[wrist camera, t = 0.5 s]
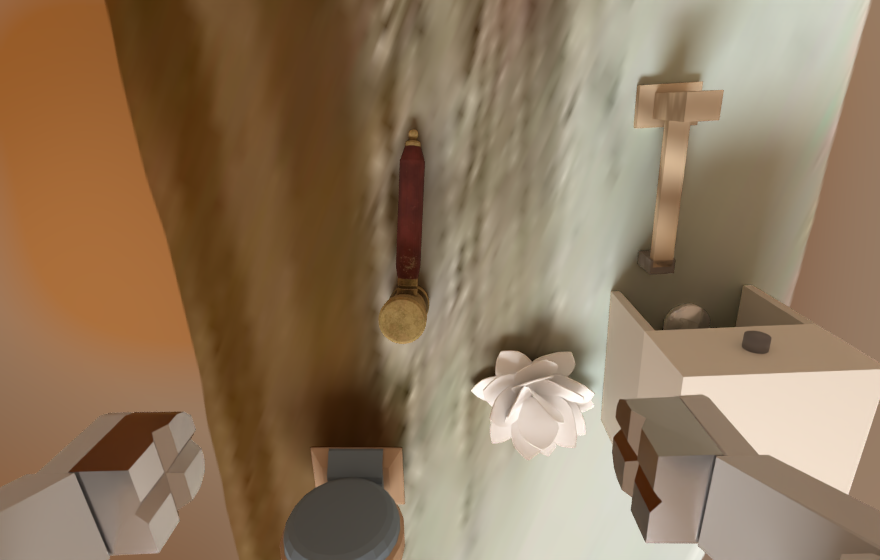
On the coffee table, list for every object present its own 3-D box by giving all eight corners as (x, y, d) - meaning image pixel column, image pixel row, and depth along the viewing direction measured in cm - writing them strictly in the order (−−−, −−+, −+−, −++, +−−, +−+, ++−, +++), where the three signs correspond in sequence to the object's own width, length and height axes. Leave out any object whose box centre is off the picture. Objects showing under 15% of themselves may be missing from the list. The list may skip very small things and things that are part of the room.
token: (664, 303, 55) (669, 307, 54) (707, 301, 55) (713, 305, 54) (659, 341, 57) (664, 345, 56) (701, 339, 57) (706, 344, 56)
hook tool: (637, 85, 47) (670, 83, 40) (698, 81, 46) (743, 78, 39) (621, 264, 53) (648, 289, 46) (675, 261, 53) (710, 286, 46)
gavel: (396, 136, 52) (384, 117, 43) (437, 139, 52) (435, 119, 43) (389, 321, 55) (377, 343, 45) (428, 323, 55) (425, 345, 45)
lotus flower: (448, 394, 60) (448, 440, 52) (530, 313, 56) (544, 350, 48) (529, 453, 63) (541, 506, 55) (613, 381, 59) (639, 426, 51)
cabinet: (611, 281, 54) (685, 363, 37) (753, 274, 53) (894, 355, 37) (600, 419, 61) (658, 541, 44) (726, 415, 60) (834, 537, 44)
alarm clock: (311, 502, 67) (266, 634, 50) (303, 447, 63) (252, 569, 47) (411, 503, 67) (399, 636, 50) (409, 447, 63) (395, 570, 47)
